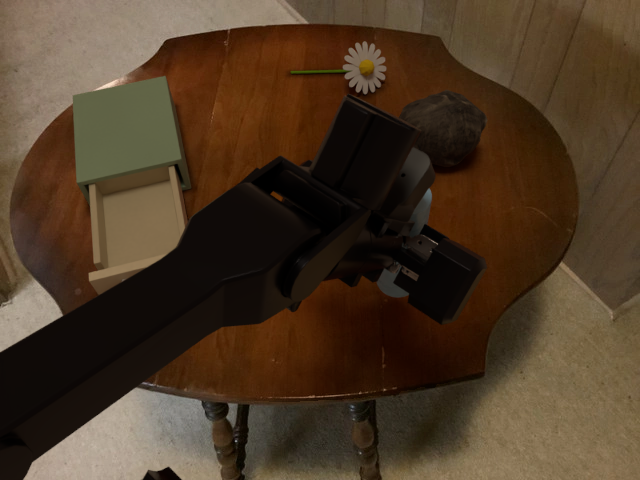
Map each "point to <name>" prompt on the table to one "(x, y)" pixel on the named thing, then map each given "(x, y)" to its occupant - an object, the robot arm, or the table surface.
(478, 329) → the table surface
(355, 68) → the decorative flower
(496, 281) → the table surface
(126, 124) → the cabinet
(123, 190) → the drawer
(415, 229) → the canister
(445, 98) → the rock
